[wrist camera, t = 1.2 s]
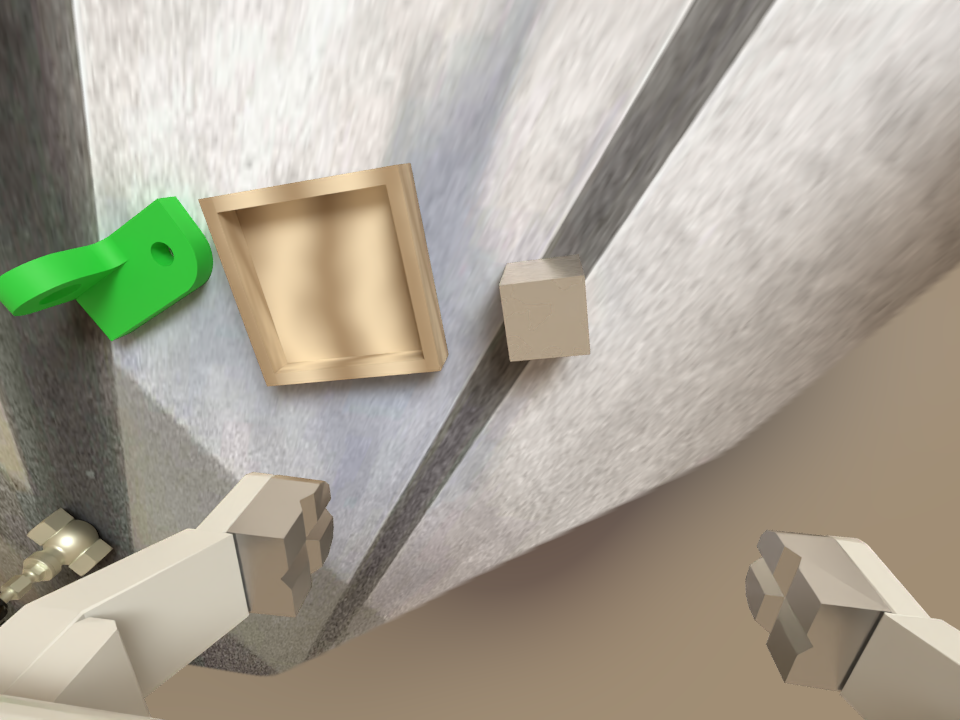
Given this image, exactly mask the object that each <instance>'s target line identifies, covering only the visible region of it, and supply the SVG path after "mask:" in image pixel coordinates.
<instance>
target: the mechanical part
mask: <svg viewBox="0 0 960 720" xmlns="http://www.w3.org/2000/svg"><path fill="white" fill-rule="evenodd" d="M168 246H169V247H170V249H171V250H172V252H173V255H174V257H173V256H172V255H171V253H170V251H169V248H168ZM212 268H213V257H212V252H211V248H210V246H209V243H208V241H207V239H206V238H205V236H204V235H203V233H202V232H201V230H200V229H199V228H198V226H197V225H196V224H195V222H194V221H193V220H192V218H191V217H190V215H189V214H188V213H187V211H186V210H185V209H184V207H183V206H182V205H181V203H180V202H179V200H178V199H177V198H176V196H175V197H167V198H160V199H156V200H155V201H154V202H153V203H151V204H150V205H149V206H147V207H146V208H145V209H144V210H142V211H141V212H140V213H138V214H137V215H136V216H135V217H133V218H132V219H131V220H129V221H128V222H127V223H125V224H124V225H123V226H122V227H120V228H119V229H118V230H116V231H115V232H114V233H113V234H111V235H110V236H109V237H107V238H105V239H104V240H102V241H99V242H97V243H95V244H92V245H89V246H85V247H80V248H75V249H71V250H66V251H61V252H57V253H53V254H49V255H46V256H43V257H40V258H37V259H35V260H32V261H30V262H27V263H25V264H23V265H20V266H18V267H16V268H14V269H12V270H10V271H8V272H7V273H5V274H3V275H2V276H0V301H1V302H2V303H3V304H4V305H5V307H6V308H7V309H8V310H9V311H10V312H11V313H12V314H13V315H14V316H21V315H26V314H30V313H33V312H37V311H40V310H43V309H46V308H49V307H52V306H55V305H58V304H62V303H65V302H68V301H71V300H74V299H76V300H77V302H78V303H79V304H80V305H81V306H82V307H83V309H84V310H85V311H86V312H87V313H88V314H89V316H90V317H91V318H92V319H93V320H94V321H95V323H96V324H97V325H98V326H99V327H100V328H101V330H102V331H103V332H104V333H105V334H106V335H107V337H108V338H109V339H110V340H111V341H113V340H115V339H118V338H120V337H122V336H125V335H127V334H129V333H131V332H132V331H134V330H135V329H137V328H138V327H140V326H141V325H143V324H144V323H146V322H147V321H149V320H150V319H152V318H153V317H155V316H156V315H158V314H159V313H161V312H162V311H164V310H165V309H167V308H168V307H170V306H172V305H173V304H175V303H176V302H178V301H179V300H181V299H182V298H184V297H185V296H187V295H188V294H190V293H191V292H193V291H194V290H196V289H197V288H199V287H200V286H202V285H203V284H204V283H205V282H206V281H207V280H208V279H209V277H210V275H211V272H212Z"/></svg>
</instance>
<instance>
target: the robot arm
mask: <svg viewBox="0 0 960 720" xmlns="http://www.w3.org/2000/svg"><path fill="white" fill-rule="evenodd" d="M330 499H331V495H330V487H329V484H328V483H327V482H325V481H320V480H313V479H305V478H298V477H290V476H283V475H272V474H264V473H257V472H252V473H249V474H246V475H245V476H244V477H243V478H242V479H241V480H240V481H239V482H238V484H237V485H236V486H235V487H234V488H233V489H232V490H231V491H230V492H229V493H228V494H227V496H226V497H225V498H224V499H223V500H222V501H221V502H220V503H219V504H218V505H217V506H216V508H215V509H214V510H213V511H212V512H211V513H210V514H209V515H208V516H207V517H206V518H205V520H204V521H203V522H202V523H201V524H200V525H199V526H198V527H197V528H196V529H185V530H183V531H181V532H179V533H177V534H175V535H173V536H171V537H168V538H166V539H164V540H162V541H160V542H158V543H156V544H154V545H151V546H149V547H147V548H145V549H143V550H141V551H139V552H137V553H134V554H132V555H130V556H128V557H126V558H124V559H122V560H120V561H118V562H115V563H113V564H111V565H109V566H107V567H105V568H103V569H101V570H98V571H96V572H94V573H92V574H90V575H88V576H86V577H84V578H81V579H79V580H77V581H75V582H73V583H71V584H69V585H67V586H64V587H62V588H60V589H58V590H56V591H54V592H52V593H50V594H48V595H45V596H43V597H41V598H39V599H37V600H35V601H33V602H31V603H28V604H26V605H25V606H24V607H22V608H21V609H20V610H19V611H18V612H17V613H16V614H14V615H13V616H12V617H11V618H10V619H9V620H8V621H6V622H5V623H4V624H3V625H2V626H1V627H0V720H163V719H156V718H151V715H150V713H149V710H148V707H147V705H146V702H145V699H144V698H145V697H147V696H148V695H149V694H150V693H152V692H153V691H154V690H156V689H157V688H158V687H159V686H161V685H162V684H163V683H164V682H166V681H167V680H168V679H170V678H171V677H172V676H173V675H174V674H176V673H177V672H178V671H180V670H181V669H182V668H183V667H185V666H186V665H187V664H188V663H190V662H191V661H192V660H193V659H195V658H196V657H197V656H199V655H200V654H201V653H202V652H204V651H205V650H206V649H207V648H209V647H210V646H211V645H212V644H214V643H215V642H216V641H217V640H219V639H220V638H221V637H223V636H224V635H225V634H226V633H228V632H229V631H230V630H231V629H233V628H234V627H235V626H236V625H238V624H239V623H240V622H241V621H243V620H244V619H245V618H247V617H248V616H249V613H258V614H268V615H277V616H287V617H296V616H297V614H298V612H299V610H300V608H301V606H302V604H303V602H304V600H305V599H306V597H307V595H308V593H309V591H310V589H311V587H312V582H311V574H312V573H313V572H315V571H316V570H318V569H319V568H321V567H322V566H323V564H324V562H325V560H326V558H327V556H328V554H329V550H330V546H331V543H332V539H333V528H334V526H333V516H332V515H331V514H330V513H329V512H328V511H327V509H326V506H327V505H328V503H329V501H330ZM757 548H758V549H759V551H760V553H761V555H762V557H761V558H760V559H758V560H757V561H755V562H754V563H753V564H751V565H750V567H749V570H748V573H747V577H746V597H747V601H748V604H749V608H750V610H751V613H752V615H753V617H754V619H755V621H756V622H757V623H758V624H760V625H761V626H762V627H763V628H764V629H765V630H766V631H768V632H769V633H770V635H769V638H768V641H767V644H766V645H767V647H768V649H769V651H770V653H771V655H772V657H773V660H774V662H775V664H776V666H777V668H778V670H779V672H780V674H781V676H782V678H783V680H784V683H788V684H795V685H801V686H807V687H813V688H819V689H825V690H832V691H838V692H841V693H840V695H841V696H842V697H843V698H844V699H845V700H846V701H847V702H848V703H849V704H850V705H851V706H852V707H853V708H854V709H855V710H856V711H857V712H858V713H859V714H860V715H861V716H862V717H863V718H864V719H865V720H960V631H959V630H957V629H955V628H954V627H952V626H951V625H949V624H948V623H946V622H944V621H943V620H940V619H933V618H930V617H929V616H928V614H927V613H926V612H925V611H924V610H923V609H922V607H921V606H920V605H919V604H918V603H917V602H916V601H915V599H914V598H913V597H912V596H911V595H910V593H909V592H908V591H907V590H906V589H905V588H904V587H903V585H902V584H901V583H900V582H899V581H898V579H897V578H896V577H895V576H894V575H893V574H892V572H891V571H890V570H889V569H888V568H887V567H886V566H885V564H884V563H883V562H882V561H881V560H880V559H879V558H878V556H877V555H876V554H875V553H874V552H873V550H872V549H871V548H870V547H869V546H868V545H867V544H866V543H865V542H863V541H861V540H860V539H858V538H851V537H840V536H828V535H827V536H820V535H812V534H802V533H793V532H783V531H773V530H766V531H765V532H764V533H763V534H762V535H761V537H760V540H759V542H758V545H757Z"/></svg>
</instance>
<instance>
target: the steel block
mask: <svg viewBox="0 0 960 720" xmlns="http://www.w3.org/2000/svg"><path fill="white" fill-rule="evenodd" d="M499 289H500V296H501V303H502V310H503V317H504V324H505V330H506V337H507V344H508V351H509V358H510V362H512V361H523V360H534V359H545V358H556V357H567V356H578V355H589V354H590V344H589V330H588V317H587V303H586V290H585V276H584V272H583V268H582V264H581V261H580V257H579V254H575V255H567V256H559V257H552V258H544V259H536V260H528V261H521V262H513V263H507V265H506V267H505V270H504V273H503V276H502V278H501V281H500V284H499Z"/></svg>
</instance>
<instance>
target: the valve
mask: <svg viewBox="0 0 960 720" xmlns="http://www.w3.org/2000/svg"><path fill="white" fill-rule="evenodd" d="M74 519H75V518H74V517H72V516H71V515H70V514H68V513H67V512H66V511H65V510H63V509H62V508H60V509H58V510H57V511H55V512H54V513H52V514H51V515H50V516H48V517H47V518H46V519H45V520H43V521H42V522H41V523H39V524H38V525H37V526H36V527H35V528H33V529H32V530H31V531H30V532H29V533H28V534H27V536H28V537H29V538H31V539H32V540H33V541H35V542H36V543H37V544H39V545H40V546H41V545H43V550H42V551H37V552H34V553H33V554H32V555H30V556H29V557H28V558H27V559H25V560H24V562H23V566H24V568H23V571H22V573H23V574H22V575H15V576H13V577H12V578H11V579H10V580H8V581H7V582H6V583H5V584H3V585H2V586H1V592H2V593H0V621H1V620H2V619H3V618H4V617H5V616H6V614H7V612H8V610H7V609H8V606H7V604H6V603H7V602H8V601H10V600H11V599H12V600H17V599H20V598H21V597H22V596H23V595H25V594H26V593H27V592H28V591H29V590H30V589H32V582H39V581H49V580H51V579H52V578H53V577H54V576H55V575H57V574H58V573H59V572H60V571H61V566H62V565H63V564H64V565H69V566H68V567H69V568H71V569H72V570H73V571H75V572H76V573H77V574H79V575H80V576H83V575H84V574H86V573H87V572H88V571H89V570H90V569H91V568H93V567H94V566H95V565H96V564H97V563H98V562H99V561H100V560H101V559H103V558H104V557H105V556H106V555H107V554H108V553H109V552H110V551H111V550H112V549H113V548H112V547H111V546H109V545H108V544H107V543H105V542H104V541H103V540H102V539H99V537H98V533H97V531H96V529H95V528H94V527H93V526H92V525H91V524H89V523H87V522H85V521H82V520H74ZM5 622H6V621H3V622H2V623H1V624H0V627H1V626H2V625H3V624H4V623H5Z"/></svg>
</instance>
